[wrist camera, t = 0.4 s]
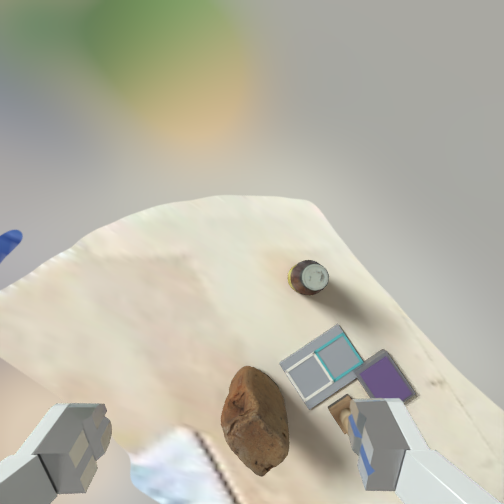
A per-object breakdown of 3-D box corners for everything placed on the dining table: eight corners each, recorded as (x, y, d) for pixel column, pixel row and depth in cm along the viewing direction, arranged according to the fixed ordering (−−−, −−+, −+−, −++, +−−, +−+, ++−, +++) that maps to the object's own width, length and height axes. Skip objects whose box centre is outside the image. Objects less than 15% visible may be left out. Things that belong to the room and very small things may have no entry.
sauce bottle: (321, 275, 61) (349, 276, 41) (303, 298, 61) (323, 309, 41) (297, 257, 61) (313, 248, 42) (279, 279, 61) (288, 281, 41)
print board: (367, 368, 59) (369, 369, 58) (308, 408, 59) (309, 410, 58) (337, 323, 60) (338, 324, 59) (279, 362, 60) (279, 364, 59)
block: (286, 393, 59) (298, 454, 39) (260, 419, 59) (260, 492, 39) (250, 355, 60) (244, 395, 40) (225, 380, 60) (207, 433, 40)
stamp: (361, 414, 58) (376, 436, 50) (341, 427, 58) (353, 452, 50) (347, 393, 59) (360, 412, 51) (327, 406, 59) (337, 427, 51)
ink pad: (411, 390, 58) (417, 394, 56) (379, 411, 58) (384, 417, 56) (382, 348, 59) (387, 351, 57) (351, 370, 59) (355, 373, 57)
